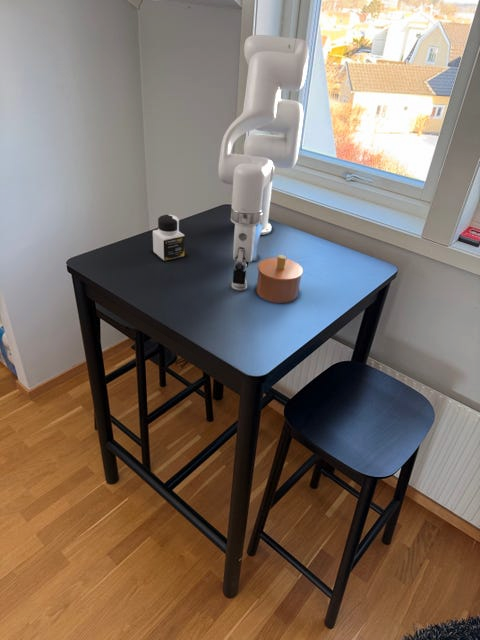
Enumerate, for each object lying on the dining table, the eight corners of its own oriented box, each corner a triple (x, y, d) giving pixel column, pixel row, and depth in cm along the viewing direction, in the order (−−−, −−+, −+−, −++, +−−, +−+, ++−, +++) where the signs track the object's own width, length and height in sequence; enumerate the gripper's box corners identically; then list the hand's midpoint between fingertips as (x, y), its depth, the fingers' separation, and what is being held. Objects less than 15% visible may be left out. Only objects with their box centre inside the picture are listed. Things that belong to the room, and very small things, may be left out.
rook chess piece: (234, 281, 133) (236, 256, 128) (249, 285, 131) (252, 260, 127) (228, 289, 129) (230, 263, 125) (243, 293, 128) (246, 267, 123)
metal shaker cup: (256, 264, 143) (261, 217, 134) (234, 260, 143) (237, 213, 135) (260, 254, 148) (265, 209, 140) (238, 250, 149) (242, 205, 141)
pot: (258, 279, 135) (260, 257, 131) (297, 284, 134) (301, 262, 130) (255, 300, 125) (257, 277, 121) (297, 305, 125) (301, 282, 121)
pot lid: (259, 258, 131) (260, 244, 129) (302, 263, 131) (304, 249, 128) (255, 279, 121) (257, 264, 119) (302, 285, 121) (305, 270, 118)
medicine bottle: (164, 261, 140) (163, 223, 133) (152, 251, 144) (151, 214, 137) (184, 256, 143) (185, 219, 136) (173, 247, 148) (173, 210, 141)
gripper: (258, 230, 111) (251, 292, 121) (262, 204, 125) (256, 262, 135) (226, 226, 111) (222, 288, 121) (235, 201, 126) (230, 259, 135)
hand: (240, 274), depth 128 cm, fingers open, 9 cm apart
